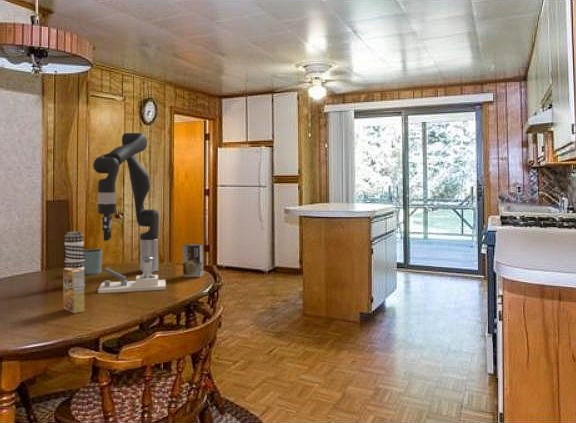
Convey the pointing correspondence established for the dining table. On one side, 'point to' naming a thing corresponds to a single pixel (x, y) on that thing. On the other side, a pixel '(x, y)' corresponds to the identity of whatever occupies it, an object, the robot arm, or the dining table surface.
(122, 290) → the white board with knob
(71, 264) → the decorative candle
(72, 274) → the candy box
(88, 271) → the blue cylindrical container
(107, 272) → the latch lever
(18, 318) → the dining table surface
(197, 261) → the coffee box
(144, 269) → the steel pin
